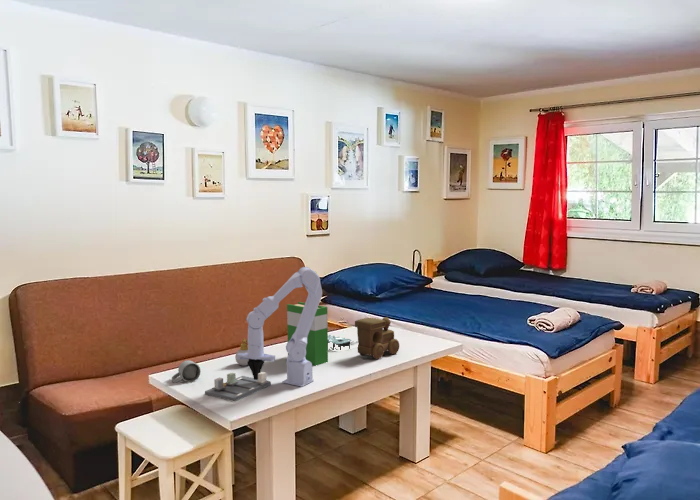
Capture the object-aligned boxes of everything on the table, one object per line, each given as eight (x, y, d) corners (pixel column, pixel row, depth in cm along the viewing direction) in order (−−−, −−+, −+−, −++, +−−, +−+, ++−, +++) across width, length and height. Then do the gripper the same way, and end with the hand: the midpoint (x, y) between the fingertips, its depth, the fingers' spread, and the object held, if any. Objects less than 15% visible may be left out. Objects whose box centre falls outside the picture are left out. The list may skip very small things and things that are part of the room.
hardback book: (287, 357, 245) (287, 304, 243) (300, 354, 251) (299, 301, 248) (315, 365, 233) (314, 309, 231) (327, 362, 238) (327, 307, 236)
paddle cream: (268, 382, 208) (268, 372, 207) (263, 384, 205) (263, 374, 205) (261, 380, 210) (261, 371, 209) (255, 383, 207) (255, 373, 207)
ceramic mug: (195, 374, 222) (194, 356, 221) (201, 380, 215) (200, 361, 215) (169, 379, 217) (168, 361, 216) (174, 385, 210) (173, 366, 209)
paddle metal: (225, 388, 201) (225, 378, 201) (219, 391, 199) (219, 380, 198) (218, 386, 203) (218, 376, 203) (212, 389, 200) (211, 379, 200)
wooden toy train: (372, 362, 238) (371, 324, 236) (353, 357, 246) (352, 320, 244) (402, 352, 252) (402, 316, 250) (383, 348, 260) (383, 313, 258)
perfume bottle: (231, 365, 235) (231, 337, 234) (250, 360, 242) (249, 333, 241) (242, 368, 230) (241, 340, 229) (261, 363, 237) (260, 335, 236)
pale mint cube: (238, 383, 207) (237, 373, 207) (232, 385, 204) (231, 375, 204) (230, 381, 209) (230, 372, 208) (224, 384, 206) (224, 374, 206)
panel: (270, 384, 210) (270, 378, 210) (234, 401, 193) (234, 395, 193) (242, 378, 217) (242, 373, 217) (205, 394, 200) (204, 388, 200)
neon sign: (380, 333, 273) (337, 344, 252) (380, 341, 273) (338, 353, 253) (349, 326, 288) (307, 336, 267) (349, 334, 288) (307, 345, 267)
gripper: (277, 341, 209) (278, 376, 211) (242, 339, 213) (243, 374, 214) (270, 346, 203) (271, 382, 204) (234, 344, 206) (235, 380, 207)
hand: (256, 378), depth 209 cm, fingers closed
